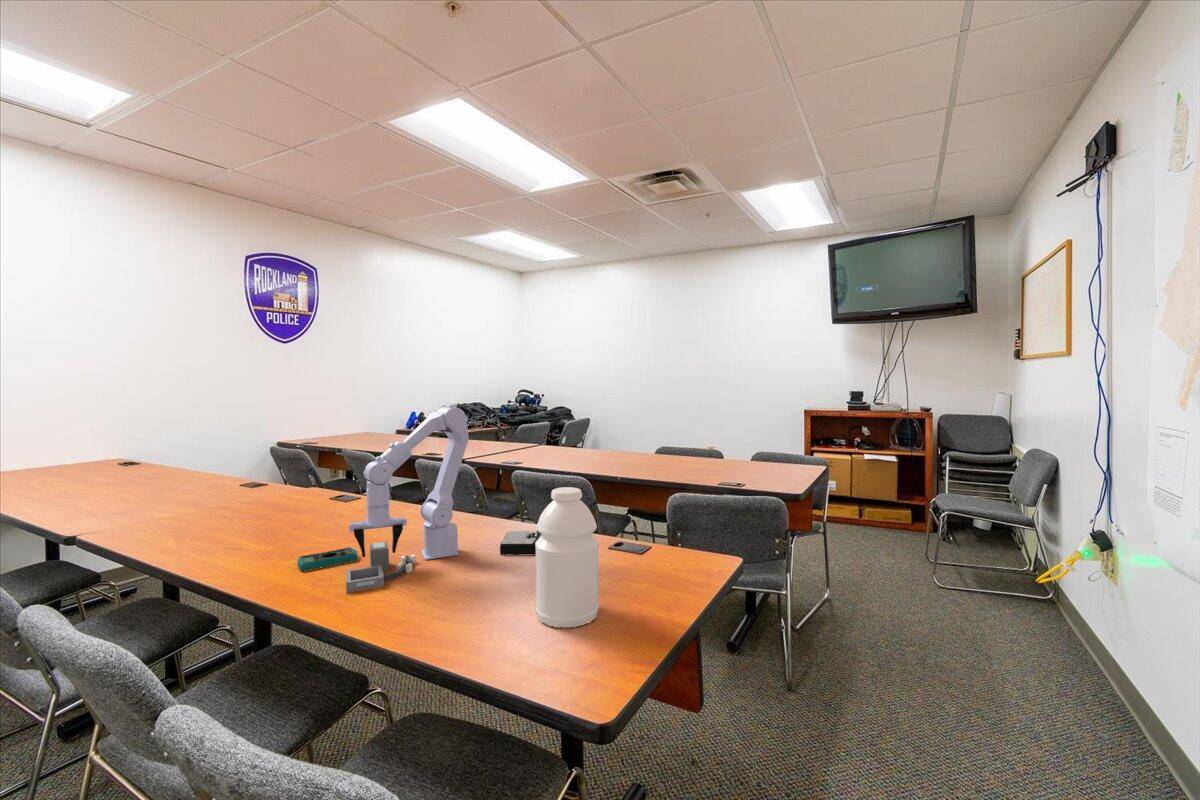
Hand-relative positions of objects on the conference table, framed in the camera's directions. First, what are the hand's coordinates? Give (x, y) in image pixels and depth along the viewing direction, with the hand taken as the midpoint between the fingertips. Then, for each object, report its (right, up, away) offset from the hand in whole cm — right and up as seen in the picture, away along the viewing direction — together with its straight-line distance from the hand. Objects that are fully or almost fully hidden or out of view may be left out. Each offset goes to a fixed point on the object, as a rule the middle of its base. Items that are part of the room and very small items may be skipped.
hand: (378, 553), depth 143 cm
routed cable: (+6, -4, -1) cm, 7 cm away
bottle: (+54, -5, -28) cm, 61 cm away
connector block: (0, -4, 0) cm, 4 cm away
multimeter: (+41, -4, +17) cm, 45 cm away
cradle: (+1, -4, -10) cm, 11 cm away
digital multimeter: (-16, -4, +4) cm, 17 cm away
